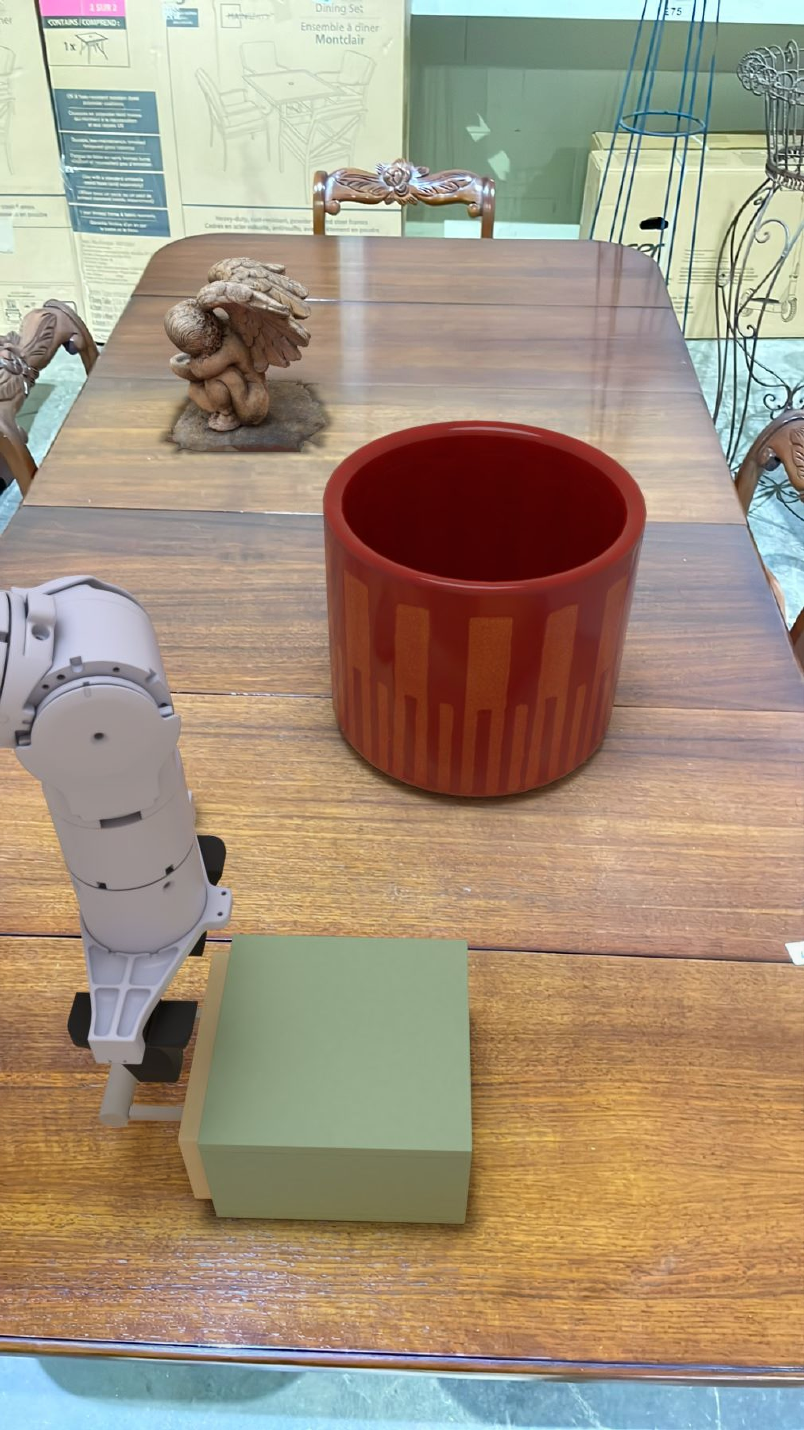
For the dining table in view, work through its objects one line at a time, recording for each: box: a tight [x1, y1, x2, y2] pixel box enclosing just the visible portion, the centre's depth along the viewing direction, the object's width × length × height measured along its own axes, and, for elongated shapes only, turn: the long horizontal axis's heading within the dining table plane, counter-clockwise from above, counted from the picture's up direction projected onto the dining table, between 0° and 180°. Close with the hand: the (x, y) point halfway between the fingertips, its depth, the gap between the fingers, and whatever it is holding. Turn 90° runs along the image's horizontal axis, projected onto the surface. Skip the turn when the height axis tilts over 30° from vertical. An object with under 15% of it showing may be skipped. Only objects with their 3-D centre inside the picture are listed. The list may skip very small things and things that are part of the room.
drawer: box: [97, 951, 230, 1200], centre depth 61 cm, size 18×11×7 cm, turn 89°
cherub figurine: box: [163, 257, 326, 452], centre depth 122 cm, size 18×18×18 cm
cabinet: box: [197, 933, 473, 1225], centre depth 61 cm, size 14×13×9 cm
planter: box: [322, 419, 648, 798], centre depth 83 cm, size 23×23×20 cm
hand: (172, 1010), depth 57 cm, fingers open, 7 cm apart
